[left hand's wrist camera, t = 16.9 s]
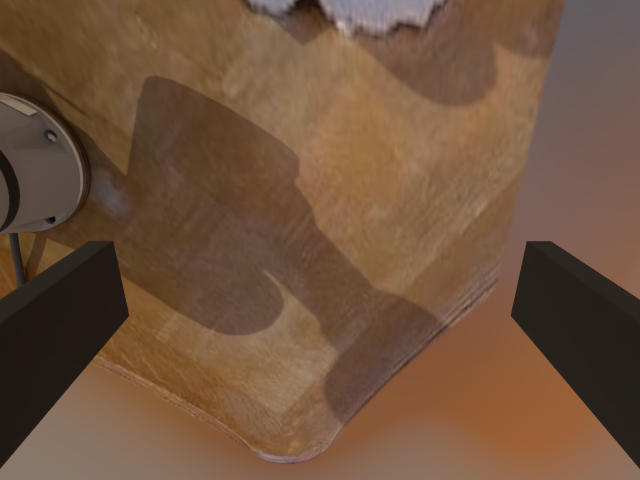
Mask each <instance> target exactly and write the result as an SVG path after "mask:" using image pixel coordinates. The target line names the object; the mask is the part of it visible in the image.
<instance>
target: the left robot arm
mask: <svg viewBox="0 0 640 480" xmlns="http://www.w3.org/2000/svg"><path fill="white" fill-rule="evenodd" d="M89 187H90V168H89V163H88V159H87V156H86V153H85V151H84V148H83V146H82V144H81V142H80V141H79V139H78V137H77V136H76V134H75V133H74V131H73V130H72V129H71V128H70V126H69V125H68V124H67V123H66V122H65V121H64V120H63V119H62V118H61V117H60V116H59V115H58V114H57V113H55V112H54V111H53V110H51V109H50V108H49V107H47V106H46V105H44V104H42V103H41V102H39V101H37V100H35V99H32V98H30V97H27V96H24V95H21V94H17V93H12V92H0V234H4V233H9V238H10V244H11V250H12V255H13V260H14V265H15V271H16V277H17V284H18V287H17V289H16V290H14V291H13V292H11V293H10V294H8V295H7V296H5V297H4V298H2V299H1V300H0V468H1V467H2V466H3V465H4V464H5V462H6V461H7V460H8V459H9V458H10V457H11V455H12V454H13V453H14V452H15V451H16V449H17V448H18V447H19V446H20V445H21V443H22V442H23V441H24V440H25V439H26V438H27V436H28V435H29V434H30V433H31V432H32V430H33V429H34V428H35V427H36V426H37V425H38V423H39V422H40V421H41V420H42V419H43V417H44V416H45V415H46V414H47V413H48V411H49V410H50V409H51V408H52V407H53V406H54V404H55V403H56V402H57V401H58V400H59V398H60V397H61V396H62V395H63V394H64V392H65V391H66V390H67V389H68V388H69V387H70V385H71V384H72V383H73V382H74V381H75V379H76V378H77V377H78V376H79V375H80V373H81V372H82V371H83V370H84V369H85V368H86V366H87V365H88V364H89V363H90V362H91V360H92V359H93V358H94V357H95V356H96V355H97V353H98V352H99V351H100V350H101V349H102V347H103V346H104V345H105V344H106V343H107V341H108V340H109V339H110V338H111V337H112V336H113V334H114V333H115V332H116V331H117V330H118V328H119V327H120V326H121V325H122V324H123V323H124V321H125V320H126V319H127V318H128V317H129V313H128V308H127V303H126V299H125V294H124V290H123V285H122V280H121V276H120V271H119V266H118V262H117V257H116V252H115V248H114V243H113V241H89V242H87V243H86V244H84V245H83V246H81V247H80V248H78V249H77V250H75V251H74V252H72V253H70V254H69V255H67V256H66V257H64V258H63V259H61V260H60V261H58V262H57V263H55V264H54V265H52V266H51V267H49V268H48V269H46V270H45V271H43V272H42V273H40V274H39V275H37V276H36V277H34V278H32V279H31V280H29V281H28V282H26V283H25V277H24V270H23V263H22V258H21V253H20V247H19V240H18V233H20V232H37V231H43V230H47V229H50V228H52V227H55V226H57V225H59V224H60V223H62V222H64V221H66V220H68V219H70V218H71V217H72V216H74V215H75V214H76V213H77V212H78V211H79V210H80V208H81V207H82V205H83V204H84V202H85V200H86V198H87V195H88V192H89ZM511 317H512V318H513V319H514V320H515V321H516V322H517V324H518V325H519V326H520V327H521V328H522V330H523V331H524V332H525V333H526V334H527V335H528V337H529V338H530V339H531V340H532V341H533V343H534V344H535V345H536V346H537V347H538V349H539V350H540V351H541V352H542V353H543V355H544V356H545V357H546V358H547V359H548V360H549V362H550V363H551V364H552V365H553V366H554V368H555V369H556V370H557V371H558V372H559V373H560V375H561V376H562V377H563V378H564V379H565V381H566V382H567V383H568V384H569V385H570V387H571V388H572V389H573V390H574V391H575V393H576V394H577V395H578V396H579V397H580V398H581V400H582V401H583V402H584V403H585V404H586V406H587V407H588V408H589V409H590V410H591V411H592V413H593V414H594V415H595V416H596V417H597V419H598V420H599V421H600V422H601V423H602V425H603V426H604V427H605V428H606V429H607V430H608V432H609V433H610V434H611V435H612V436H613V438H614V439H615V440H616V441H617V442H618V444H619V445H620V446H621V447H622V448H623V449H624V451H625V452H626V453H627V454H628V455H629V457H630V458H631V459H632V460H633V461H634V463H635V464H636V465H637V466H638V467H639V468H640V300H639V299H638V298H636V297H635V296H633V295H632V294H630V293H629V292H627V291H626V290H624V289H623V288H621V287H620V286H618V285H617V284H615V283H614V282H612V281H611V280H609V279H608V278H606V277H604V276H603V275H601V274H600V273H598V272H597V271H595V270H594V269H592V268H591V267H589V266H588V265H586V264H585V263H583V262H582V261H580V260H579V259H577V258H576V257H574V256H572V255H571V254H570V253H568V252H566V251H565V250H563V249H562V248H560V247H559V246H557V245H556V244H554V243H553V242H551V241H527V243H526V248H525V252H524V257H523V262H522V266H521V271H520V276H519V280H518V285H517V290H516V294H515V299H514V303H513V308H512V313H511Z"/></svg>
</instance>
